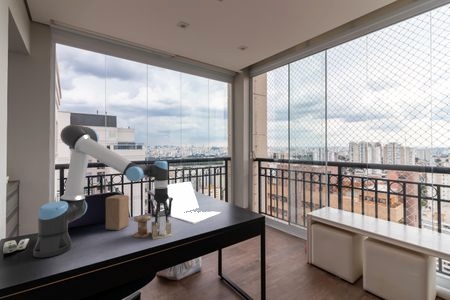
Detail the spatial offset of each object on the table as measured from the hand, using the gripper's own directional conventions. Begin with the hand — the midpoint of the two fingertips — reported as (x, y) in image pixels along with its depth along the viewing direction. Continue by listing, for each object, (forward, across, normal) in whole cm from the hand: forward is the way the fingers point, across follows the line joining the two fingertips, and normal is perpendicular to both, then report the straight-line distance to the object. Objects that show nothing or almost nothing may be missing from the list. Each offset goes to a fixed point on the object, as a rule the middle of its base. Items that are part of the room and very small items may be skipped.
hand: (161, 227), depth 126 cm
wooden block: (+4, -24, +24) cm, 34 cm away
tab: (+2, 0, 0) cm, 2 cm away
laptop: (+5, +27, +32) cm, 42 cm away
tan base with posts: (+4, 0, 0) cm, 4 cm away
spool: (+4, -10, +4) cm, 12 cm away
